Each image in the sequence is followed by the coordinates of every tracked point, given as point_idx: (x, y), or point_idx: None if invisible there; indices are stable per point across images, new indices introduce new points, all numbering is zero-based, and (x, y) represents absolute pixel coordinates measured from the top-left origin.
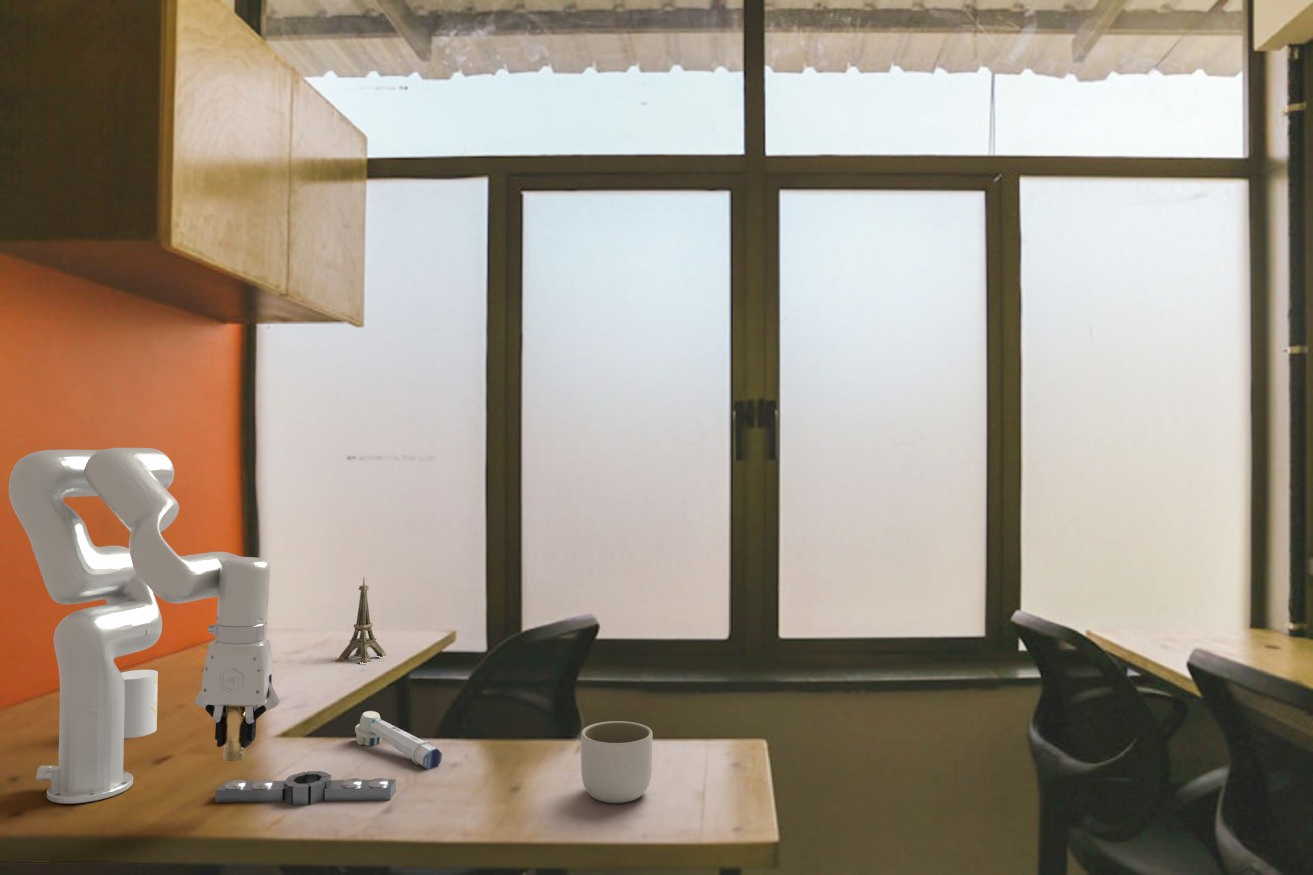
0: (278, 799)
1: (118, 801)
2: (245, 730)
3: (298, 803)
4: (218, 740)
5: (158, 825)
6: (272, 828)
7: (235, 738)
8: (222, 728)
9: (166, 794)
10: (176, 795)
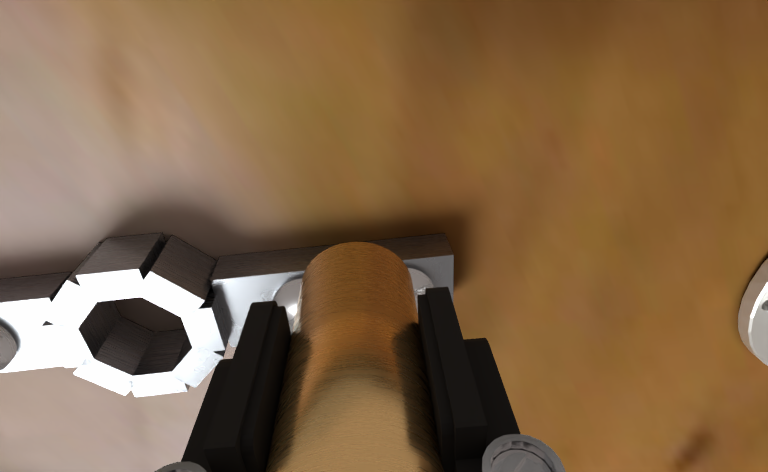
0: (231, 258)
1: (752, 216)
2: (225, 395)
3: (138, 236)
4: (444, 311)
5: (565, 27)
6: (85, 15)
7: (320, 338)
8: (436, 390)
9: (620, 274)
10: (588, 270)
